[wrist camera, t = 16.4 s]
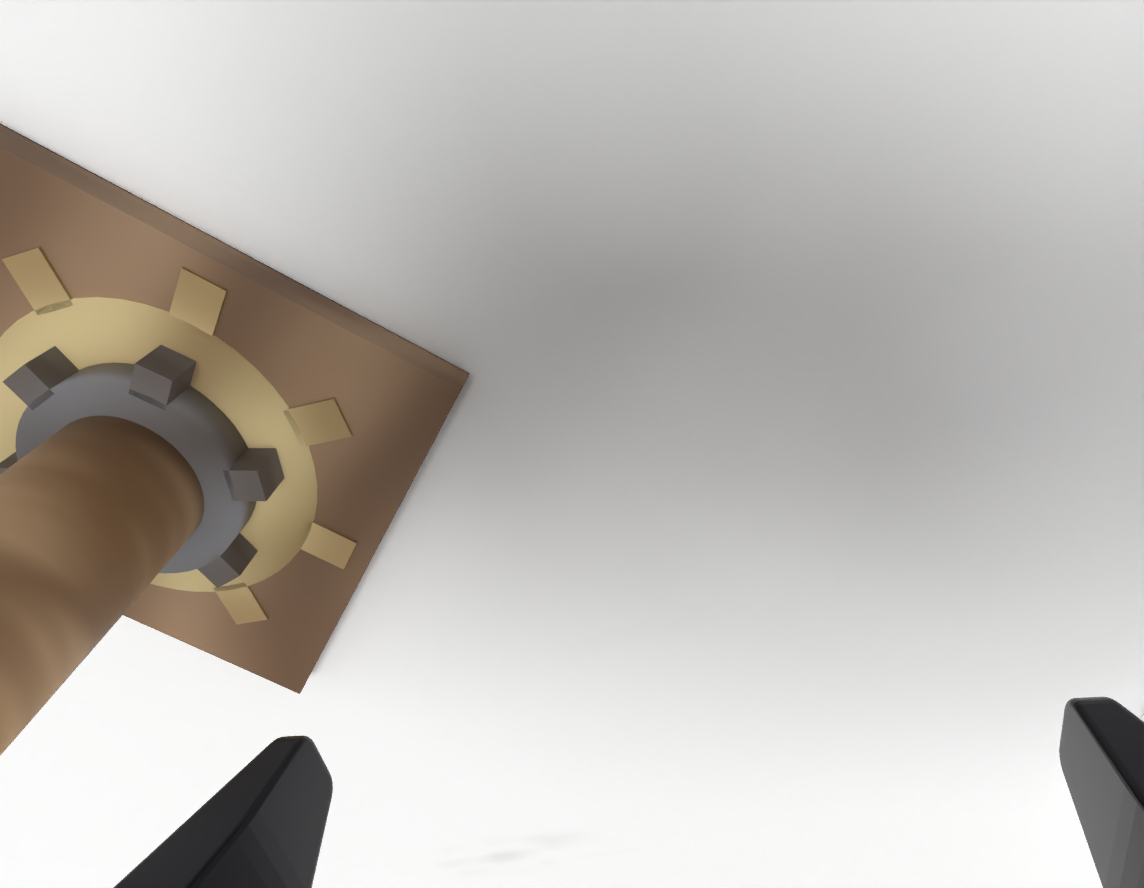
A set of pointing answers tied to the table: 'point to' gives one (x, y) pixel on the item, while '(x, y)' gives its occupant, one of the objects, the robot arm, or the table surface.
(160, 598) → the gear board
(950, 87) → the table surface
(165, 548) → the gear spindle
